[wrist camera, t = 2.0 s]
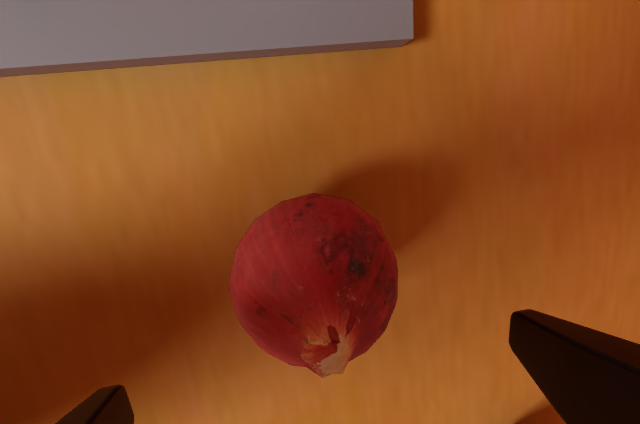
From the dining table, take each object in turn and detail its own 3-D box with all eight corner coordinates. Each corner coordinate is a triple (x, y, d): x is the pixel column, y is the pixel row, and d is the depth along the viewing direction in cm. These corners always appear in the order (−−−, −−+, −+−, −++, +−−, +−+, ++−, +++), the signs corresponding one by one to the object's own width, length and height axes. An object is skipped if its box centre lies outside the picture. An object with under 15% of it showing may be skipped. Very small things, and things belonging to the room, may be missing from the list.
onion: (291, 153, 13) (313, 185, 6) (387, 224, 15) (504, 323, 7) (218, 255, 14) (152, 403, 7) (316, 313, 16) (356, 486, 8)
